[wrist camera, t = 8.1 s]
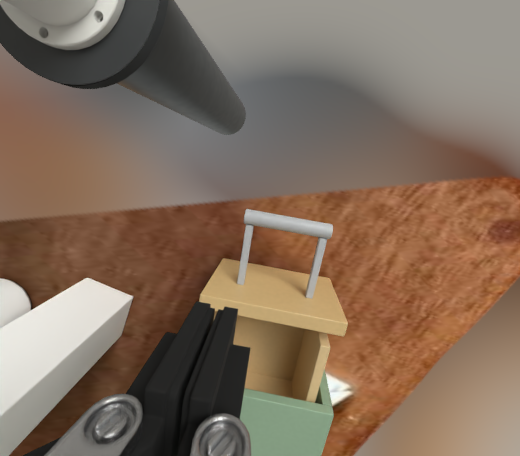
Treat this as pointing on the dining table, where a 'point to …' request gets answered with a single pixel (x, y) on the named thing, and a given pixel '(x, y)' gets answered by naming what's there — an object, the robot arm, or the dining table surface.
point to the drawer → (280, 312)
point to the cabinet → (287, 422)
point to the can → (12, 301)
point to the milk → (54, 353)
